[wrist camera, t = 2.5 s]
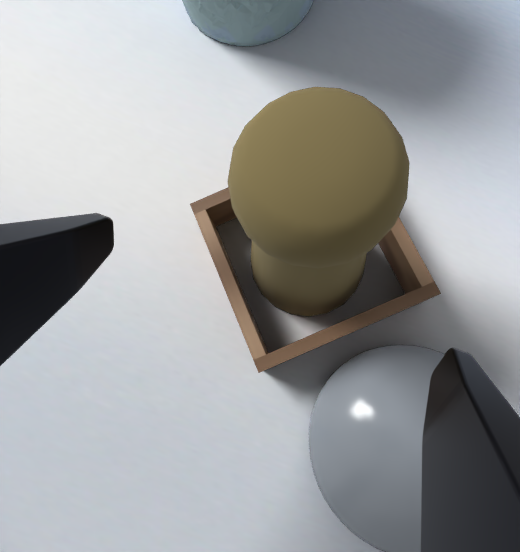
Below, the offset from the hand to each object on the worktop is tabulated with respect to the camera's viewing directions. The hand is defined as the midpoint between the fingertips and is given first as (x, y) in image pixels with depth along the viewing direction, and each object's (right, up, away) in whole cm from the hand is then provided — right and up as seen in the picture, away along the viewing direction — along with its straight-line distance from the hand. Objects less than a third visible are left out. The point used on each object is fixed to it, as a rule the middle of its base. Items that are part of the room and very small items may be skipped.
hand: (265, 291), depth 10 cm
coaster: (+7, -8, +8) cm, 13 cm away
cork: (+2, +1, +11) cm, 11 cm away
